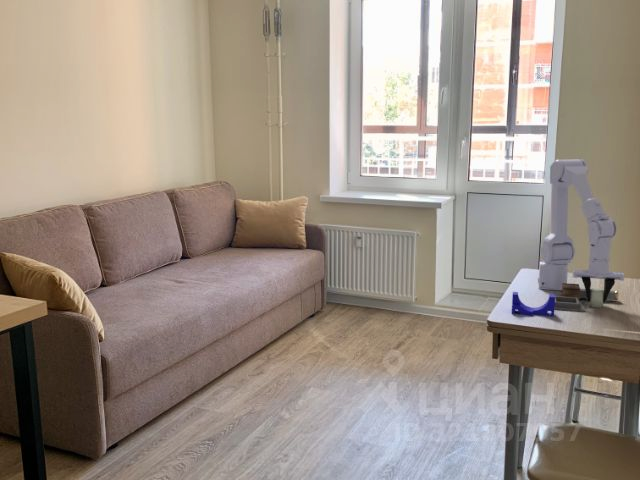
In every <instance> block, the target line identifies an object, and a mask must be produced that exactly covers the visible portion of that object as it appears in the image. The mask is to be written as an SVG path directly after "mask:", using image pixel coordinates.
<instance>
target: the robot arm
mask: <svg viewBox="0 0 640 480" xmlns="http://www.w3.org/2000/svg"><path fill="white" fill-rule="evenodd" d="M588 170H589V167H587V162H586V160H584V159H582V158H579V159H577V158H576V159H555V160H553V162H552V163H551V164H550V166H549V183H550V185H551V189H550V190H551V192H550V195H551V196H550V197H551V199H550V200H551V201H550V234H548V235H547V236H546V237H545V238H543V239H542V245H541V249H540V256H541V258H542V260H543V261H539V268H538V277H537V283H538V284H537V285H538V289H539V290H549V291H562V283H568V276H569V273H568V272H569V264H571V261H572V260H573V259H574V258H575V256H576V255H575V254H576V251H575V250H576V249H575V246H574V238H572V237H571V236H570V235H569V234H568V214H569V213H568V211H569V210H568V209H569V208H568V205H569V203H568V202H569V201H568V199H569V187H571V185H572V186H573V187H574V189H575V191H576V192H577V194H578V196H579V198H580V200H581V201H582V204H581V206H580V208H581V211H582V214H583V215H584V217H585V219H586V222H587V223H588V226H587V228H586V230H587V235H588V243H589V246H590V248H589V249H590V250H589V257H588V258H589V261H588V269H587V270H585V269H584V270H583V269H582V270H575V269H574V270H572V278H574V279H575V278H580V279H581V281H582V283H583V286H584V289H585V290H586V295H587V298H586V302H590V289H591V286H592V281H591V279H596V280H597V279H598V280H603V290H604V299H603V304H604V303H605V304H606V303H607V297H608V294H609V292H610V291H612V288H613V287H614V286H615V283H616V281H615V280H617V281H623V282H624V281H625V273H623V272H615V271H609V270H610V257H611V246H612V239H613V238H614V237H615V236H616V234H617V225H616V221H615V220H614V219H612V218H610V216H609V215H608V216H607V214H606V211H605V209H604V207H603V205H602V203H601V201H600V200H599V199H598V198H595V196H594V194H593V191H592V189H591V186H590V183H589V180H588V177H587V176H588Z"/></svg>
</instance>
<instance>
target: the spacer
mask: <svg viewBox="0 0 640 480" xmlns="http://www.w3.org/2000/svg"><path fill="white" fill-rule="evenodd" d="M603 299H604V289H602V288H597V287H596V288H590V302H589V301H588V302H589V303H588V305H589V307H591V308H597V309H598V308H603V307H604V303H603Z"/></svg>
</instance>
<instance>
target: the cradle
mask: <svg viewBox="0 0 640 480" xmlns="http://www.w3.org/2000/svg"><path fill="white" fill-rule="evenodd" d="M555 310H556V311H567V312H568V311H569V312H581V313H584V312H585V307H584V304H583V301H581V300H578V298H576V297H562V295H561V296H558V295H555V308H554V311H555Z"/></svg>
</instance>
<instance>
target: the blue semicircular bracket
mask: <svg viewBox="0 0 640 480" xmlns="http://www.w3.org/2000/svg"><path fill="white" fill-rule="evenodd" d="M555 296H556V294H551V293H550V294H549V296H548V299H547V301H546V302H545V303H544V304H543V305H541V306H538V307H531V306H527V305H526V304H525V303H523V302H522V301H521V299H520V296H519V292H518V291H512V298H511V300H512V301H511V315H515V314H516V310H517V315H522V316H529V317H530V316H531V317H533V315H534V316H535V315H536V316H545V317H553V318H554V317H555V310H554V308H555Z"/></svg>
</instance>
